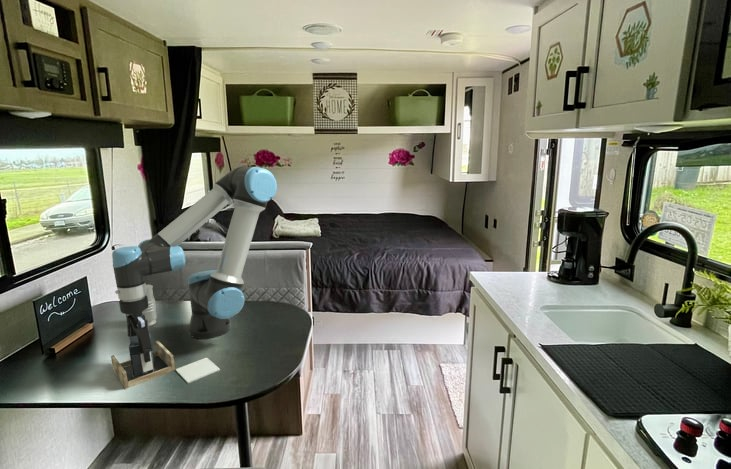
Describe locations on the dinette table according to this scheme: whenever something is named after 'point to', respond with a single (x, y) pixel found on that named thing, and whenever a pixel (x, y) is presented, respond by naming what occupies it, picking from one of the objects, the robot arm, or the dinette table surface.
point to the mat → (197, 370)
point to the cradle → (122, 376)
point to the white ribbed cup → (150, 307)
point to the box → (137, 358)
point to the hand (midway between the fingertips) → (143, 364)
